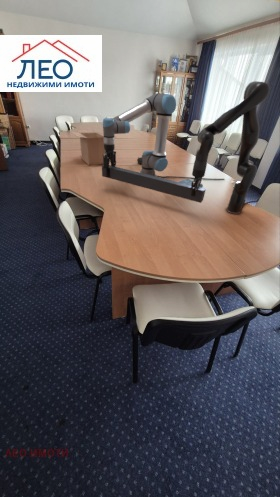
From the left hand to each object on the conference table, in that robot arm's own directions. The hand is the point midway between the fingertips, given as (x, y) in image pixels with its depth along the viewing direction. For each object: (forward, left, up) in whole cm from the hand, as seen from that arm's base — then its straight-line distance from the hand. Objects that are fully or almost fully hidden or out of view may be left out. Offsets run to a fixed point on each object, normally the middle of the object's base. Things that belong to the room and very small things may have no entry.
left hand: (110, 176), depth 170 cm
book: (-63, -2, -11) cm, 64 cm away
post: (-27, +20, -1) cm, 34 cm away
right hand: (-55, +39, +3) cm, 67 cm away
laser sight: (-39, -73, -11) cm, 84 cm away
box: (+19, -79, -11) cm, 82 cm away
